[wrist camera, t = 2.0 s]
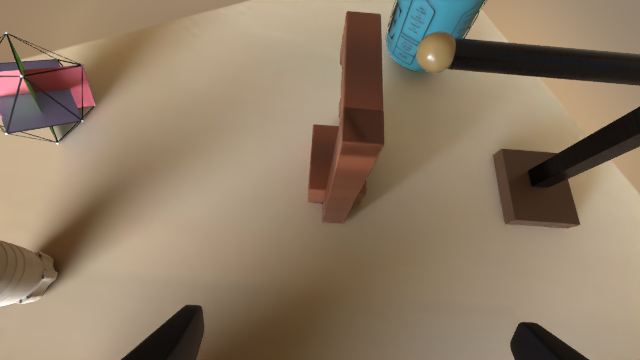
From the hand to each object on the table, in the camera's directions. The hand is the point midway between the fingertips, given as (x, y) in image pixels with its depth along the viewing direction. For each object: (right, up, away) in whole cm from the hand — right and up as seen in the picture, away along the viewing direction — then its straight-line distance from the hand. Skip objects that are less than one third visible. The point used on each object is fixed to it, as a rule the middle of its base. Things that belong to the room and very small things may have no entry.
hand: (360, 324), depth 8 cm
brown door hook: (0, +4, +15) cm, 16 cm away
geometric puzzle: (-22, +9, +16) cm, 29 cm away
